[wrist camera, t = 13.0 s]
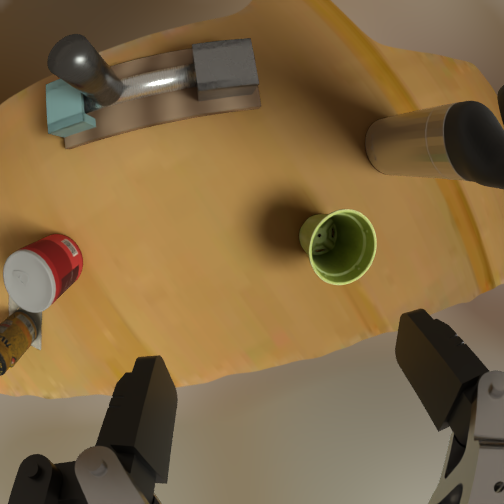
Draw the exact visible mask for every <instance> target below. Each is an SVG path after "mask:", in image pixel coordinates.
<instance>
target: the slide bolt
mask: <svg viewBox="0 0 504 504" xmlns="http://www.w3.org/2000/svg"><path fill="white" fill-rule="evenodd" d="M48 68H49V70H50V71H51V72H52V73H53V74H55V75H56V76H58V77H59V78H61V79H62V80H63V81H65V82H66V83H68V84H69V85H71V86H72V87H74V88H75V89H77V90H78V91H80V92H81V93H83V101H84V113H85V114H87V113H90V112H93V111H96V110H99V109H103V108H106V107H109V106H113V105H116V104H120V103H124V102H127V101H131V100H135V99H139V98H143V97H148V96H152V95H156V94H161V93H166V92H171V91H176V90H181V89H187V88H193V87H198V86H197V79H196V72H195V64H194V63H193V64H187V65H181V66H176V67H170V68H165V69H161V70H156V71H151V72H147V73H143V74H139V75H135V76H131V77H127V78H123V79H119V78H118V77H117V75H116V74H115V73H114V72H113V70H112V69H111V68H110V67H109V66H108V64H107V63H106V62H105V61H104V59H103V58H102V57H101V56H100V55H99V53H98V52H97V51H96V50H95V49H94V47H93V46H92V45H91V44H90V43H89V41H88V40H87V39H86V38H85V37H84V36H82V35H80V34H73V35H69V36H66V37H64V38H63V39H61V40H60V41H59V42H57V44H55V46H54V47H53V48H52V50H51V52H50V54H49V56H48Z"/></svg>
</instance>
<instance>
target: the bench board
mask: <svg viewBox="0 0 504 504" xmlns="http://www.w3.org/2000/svg"><path fill="white" fill-rule="evenodd" d="M187 64H193V58H192V48H190V49H184V50H178V51H173V52H168V53H163V54H158V55H153V56H149V57H144V58H140V59H136V60H132V61H128V62H124V63H121V64H117V65H114V66H110V68H111V69H112V70H113V72H114V73H115V74H116V75H117V77H118V78H119V79H123V78H127V77H131V76H135V75H139V74H143V73H147V72H151V71H156V70H161V69H165V68H170V67H176V66H181V65H187ZM260 107H261V101H260V95H259V90H258V86H257V88H256V89H255V91H254V92H253V94H252V95H243V96H234V97H226V98H219V99H212V100H205V101H198V87H193V88H187V89H181V90H176V91H171V92H166V93H161V94H156V95H152V96H148V97H143V98H139V99H135V100H131V101H127V102H124V103H120V104H116V105H113V106H109V107H106V108H103V109H99V110H96V111H93V112H90V113H87V115H89V116H91V117H93V118H95V121H96V127H95V128H91V129H88V130H85V131H82V132H79V133H76V134H73V135H70V136H67V137H64V140H65V148H66V149H72V148H75V147H78V146H81V145H84V144H88V143H91V142H94V141H97V140H101V139H104V138H108V137H111V136H115V135H119V134H122V133H126V132H130V131H134V130H138V129H142V128H146V127H151V126H155V125H160V124H164V123H169V122H174V121H179V120H184V119H190V118H195V117H201V116H207V115H213V114H220V113H227V112H234V111H242V110H251V109H259V108H260Z"/></svg>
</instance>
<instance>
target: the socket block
mask: <svg viewBox="0 0 504 504" xmlns="http://www.w3.org/2000/svg"><path fill="white" fill-rule="evenodd" d="M46 107H47V124H48V134H52V135H56V136H60V137H67V136H70V135H73V134H76V133H79V132H82V131H85V130H88V129H91V128H95V127H96V121H95V118H93V117H91V116H89V115H87V114H85V113H84V101H83V93H81V92H80V91H78V90H77V89H75V88H74V87H72V86H71V85H69V84H68V83H66V82H65V81H63V80H62V79H58V80H56V81H53V82H51V83H49V84H46Z"/></svg>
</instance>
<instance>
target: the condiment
mask: <svg viewBox="0 0 504 504" xmlns="http://www.w3.org/2000/svg"><path fill="white" fill-rule="evenodd" d="M18 308H19V309H18ZM17 309H18V310H17ZM41 324H42V312H38V313H33V312H29V311H26V310H24V309H22V308H21V307H19V306H18V305H17V304H16V303H15V302H14V301H13V300H12V298H11V297H10V295H9V317H8V318H7V319H6V320H5V321H4V322H2V323H1V324H0V376H1V375H3V374H4V373H5V372H6V371H7V370H8V369H9V368H12V367H13V366H14V365H15V364H16V362H17V361H18V360H19V359H20V357H21V356H22V355H23V354H24V353H25V352H26V350H27V349H28V348H29V347H30V345H31V346H33V347H35V348H37V349H39V350H41Z"/></svg>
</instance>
